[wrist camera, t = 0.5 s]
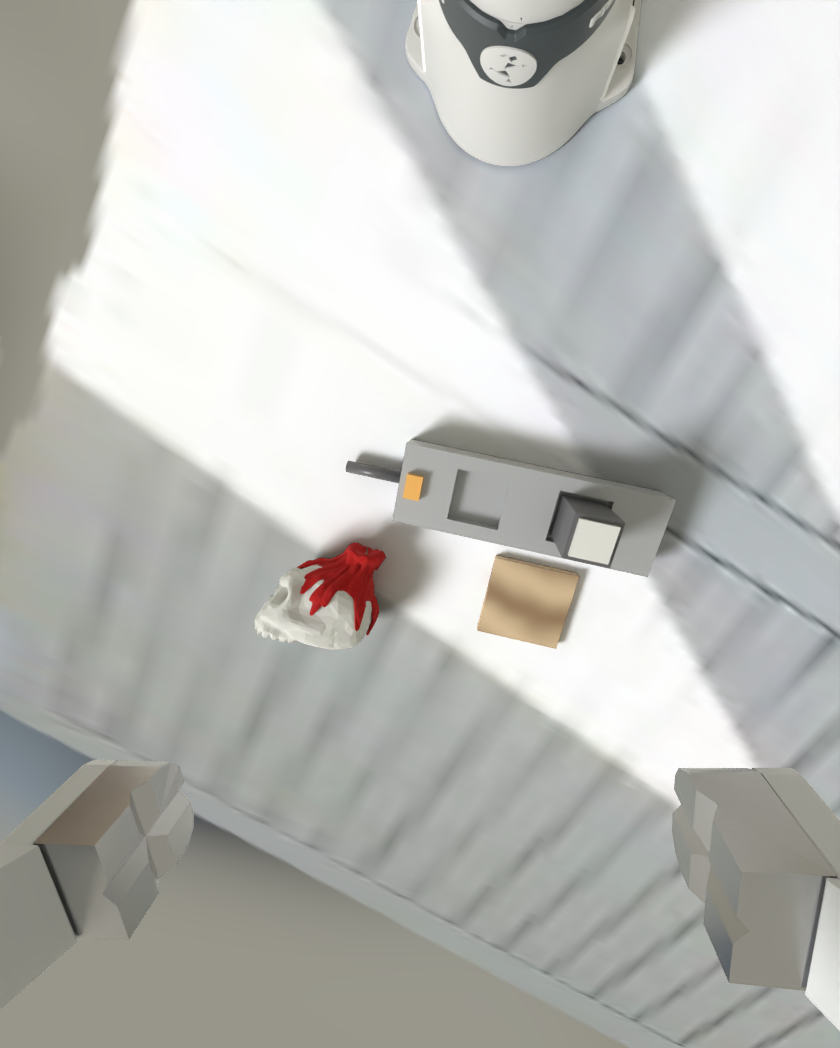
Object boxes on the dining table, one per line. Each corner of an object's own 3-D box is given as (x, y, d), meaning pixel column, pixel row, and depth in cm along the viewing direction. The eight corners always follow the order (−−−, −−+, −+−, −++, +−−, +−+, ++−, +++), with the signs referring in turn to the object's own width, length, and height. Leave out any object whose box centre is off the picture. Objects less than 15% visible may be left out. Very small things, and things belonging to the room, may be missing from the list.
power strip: (355, 427, 49) (344, 431, 45) (661, 491, 47) (679, 502, 43) (345, 499, 51) (333, 510, 47) (635, 563, 49) (650, 580, 45)
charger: (561, 493, 46) (576, 513, 39) (603, 502, 46) (627, 524, 39) (549, 533, 47) (562, 559, 40) (591, 542, 47) (611, 570, 40)
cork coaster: (496, 555, 51) (496, 558, 50) (577, 573, 51) (579, 576, 50) (477, 626, 54) (477, 630, 53) (554, 644, 53) (555, 648, 52)
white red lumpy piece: (268, 606, 56) (335, 505, 53) (345, 658, 56) (416, 562, 54) (234, 638, 47) (314, 519, 44) (326, 699, 48) (410, 586, 45)
